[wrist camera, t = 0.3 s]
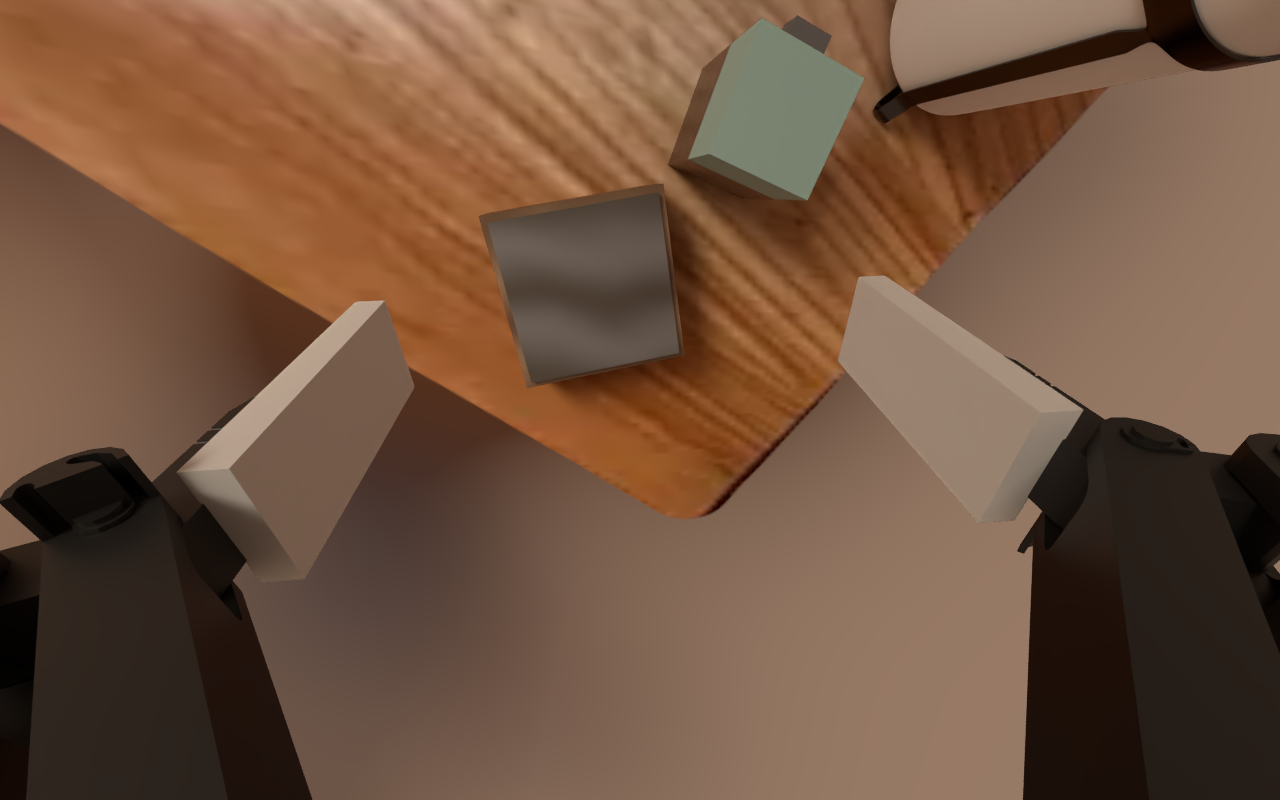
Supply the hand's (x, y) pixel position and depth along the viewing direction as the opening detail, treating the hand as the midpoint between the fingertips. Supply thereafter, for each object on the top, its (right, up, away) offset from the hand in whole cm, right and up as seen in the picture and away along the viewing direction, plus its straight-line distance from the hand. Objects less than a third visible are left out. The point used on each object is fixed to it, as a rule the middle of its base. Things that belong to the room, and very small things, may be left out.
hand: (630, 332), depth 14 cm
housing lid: (+8, +17, +18) cm, 26 cm away
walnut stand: (-4, +8, +27) cm, 29 cm away
